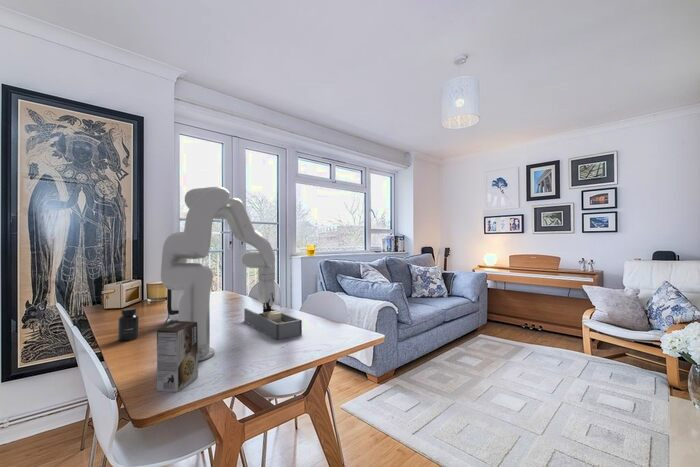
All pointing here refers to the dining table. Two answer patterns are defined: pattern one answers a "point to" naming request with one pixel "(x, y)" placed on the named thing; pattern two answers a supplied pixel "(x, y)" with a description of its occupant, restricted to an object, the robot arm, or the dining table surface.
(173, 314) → the coffee press
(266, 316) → the beech block
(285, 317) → the trap box
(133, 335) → the supplement bottle
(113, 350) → the dining table surface
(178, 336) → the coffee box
